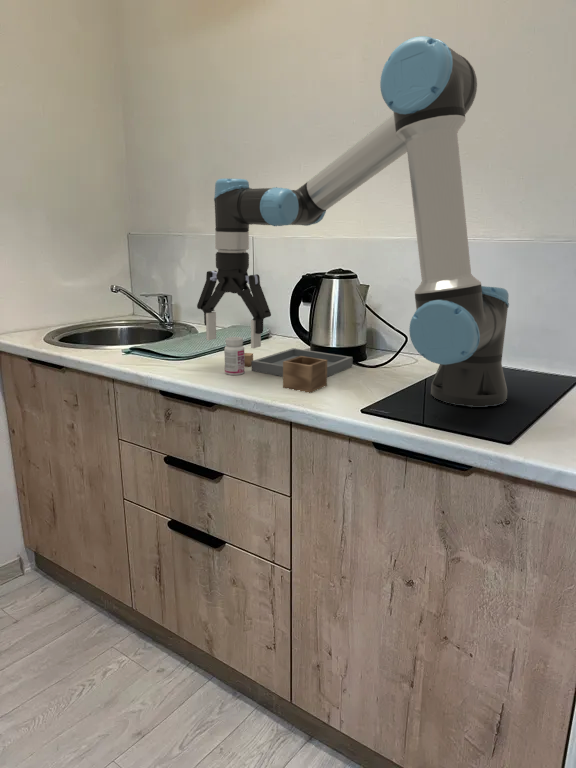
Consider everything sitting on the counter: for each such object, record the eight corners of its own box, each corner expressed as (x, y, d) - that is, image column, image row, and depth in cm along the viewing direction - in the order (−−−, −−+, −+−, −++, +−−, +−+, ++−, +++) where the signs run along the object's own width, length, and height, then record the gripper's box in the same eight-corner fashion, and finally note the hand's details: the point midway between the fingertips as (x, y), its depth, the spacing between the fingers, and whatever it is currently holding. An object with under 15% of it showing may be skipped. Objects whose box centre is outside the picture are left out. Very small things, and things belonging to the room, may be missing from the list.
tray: (352, 366, 144) (352, 357, 143) (314, 382, 130) (314, 372, 129) (293, 356, 154) (293, 348, 153) (251, 370, 139) (251, 361, 139)
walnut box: (326, 386, 127) (327, 359, 126) (309, 393, 122) (310, 366, 120) (300, 381, 131) (300, 355, 130) (282, 388, 126) (283, 361, 124)
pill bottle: (241, 376, 135) (241, 340, 132) (222, 374, 136) (221, 339, 133) (247, 371, 139) (246, 336, 137) (228, 369, 140) (227, 335, 138)
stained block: (253, 364, 146) (253, 353, 145) (249, 367, 143) (249, 356, 142) (230, 363, 147) (230, 352, 146) (227, 366, 144) (226, 354, 144)
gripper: (287, 253, 126) (285, 347, 132) (202, 247, 139) (204, 333, 145) (266, 255, 120) (266, 353, 126) (180, 249, 133) (183, 338, 139)
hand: (233, 343), depth 136 cm, fingers open, 13 cm apart
